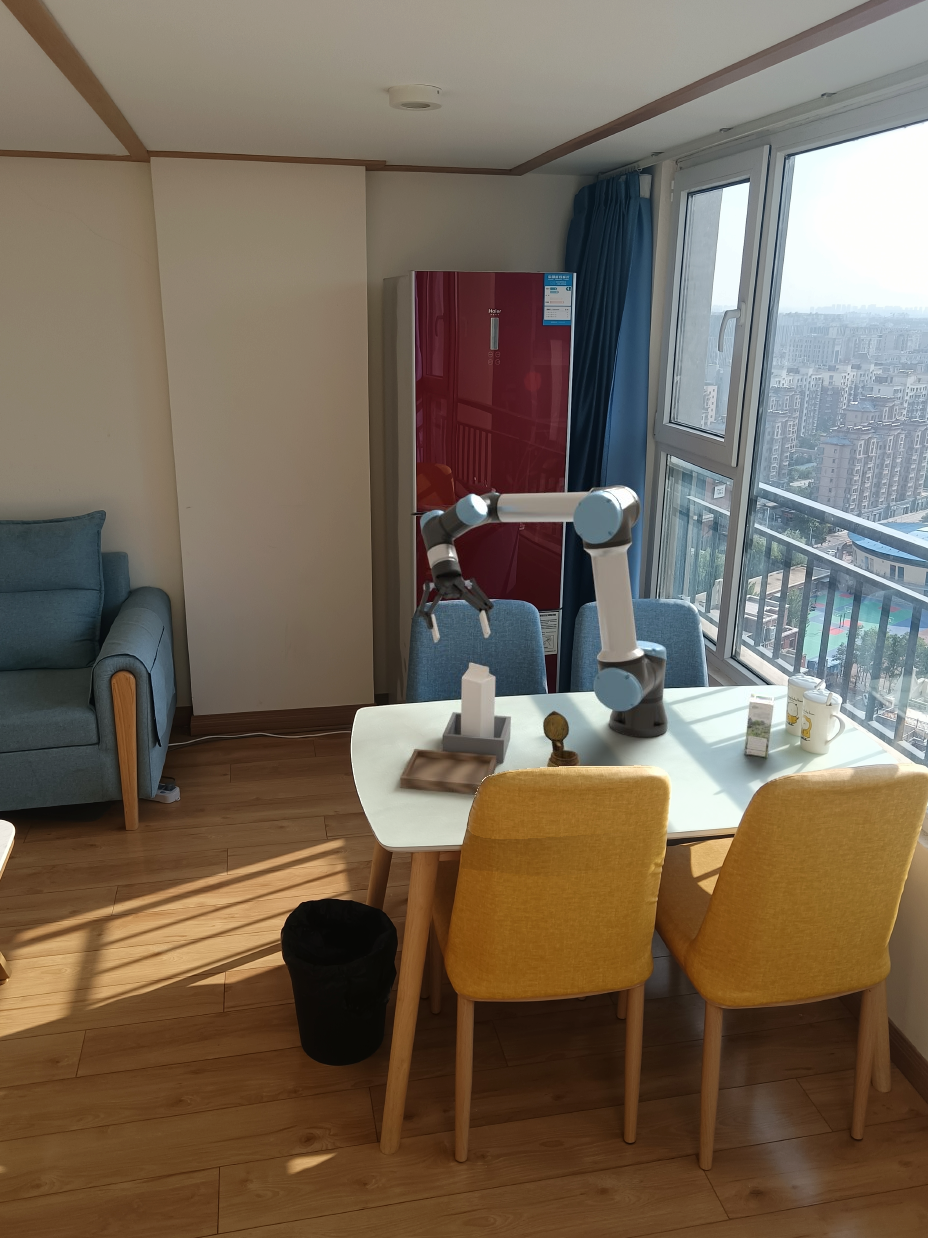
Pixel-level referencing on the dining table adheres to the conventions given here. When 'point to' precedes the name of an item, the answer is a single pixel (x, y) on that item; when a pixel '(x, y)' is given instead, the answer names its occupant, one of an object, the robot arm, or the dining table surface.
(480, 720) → the milk
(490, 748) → the box
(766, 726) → the white drink carton
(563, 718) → the wooden mug
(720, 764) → the dining table surface
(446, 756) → the tray
